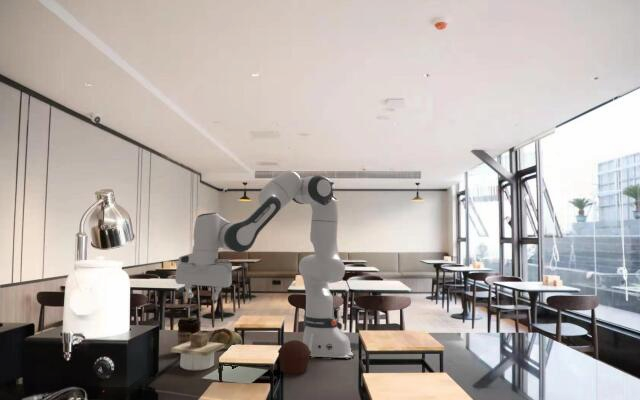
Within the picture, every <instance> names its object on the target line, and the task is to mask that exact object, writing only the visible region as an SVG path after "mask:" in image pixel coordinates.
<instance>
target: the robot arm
mask: <svg viewBox="0 0 640 400" xmlns="http://www.w3.org/2000/svg"><path fill="white" fill-rule="evenodd" d="M257 196H258V203H259V206H258V207H257V208H256V209H255V211H253V212H252V214H250V215H249V216H248V217H247V218H246V219H245V220H243V221H240V222H236V223H235V222H234V223H233V222H230V221H229V220H227V219H225V218H224V217H223V216H221V215H220V214H219V213H217V212H207V213H200V214H199V215H198V216H197V217H196V219H195V221H194V229H193V242H194V244H193V247H192V251H191V253H188V254H185V255H182V256H179V257H178V261H177V262H178V264H177V267H176V270H175V279H174V280H175V281H174V282H176V284H177V285H184V289H185V292H186V295H187V296H186V298H188V299H193V298H194V294H195V293H194V292H192V290H191V288H192V286H199V287H200V286H203V287H204V286H205V287H214V290H215V292H214V293H213V294H211V300H212V301H217V300H218V299H219V294H220V292H221V291H222V290H223V289H222V288H229V287H230V286H232V284H233V274H232V271H233V264H232V262H231V261H229V259H219V250H220V249H223V250H228V251H233V252H237V253H245V252H247V251H248V250H250V249H251V248H252V247H253V245H254V243H255V241H256V239H257V237H258V235H259V234H260V232H262V230H263V229H264V228H265V227H266V226H267V224H268V223H270V221H271V220H272V219H273V218H274V217H275V216H276V215H277V214H278V212H280V211H281V210H282V209H283V208H285V207H286V206H288V204H289V203H290V202H291V201H293V202H295V203H296V204H298V205H299V204H300V205H305V204H306V205H308V204H309V205H310V206H311V212H312V214H311V223H310V236H309V239H310V240H309V241H310V242H311V243H312V246H313V250H314V254H309V255H306V256H304V257H302V258H301V259H300V261H299V263H298V271H299V273H300V275H301V277H302V281H303V284H304V291H305V315H304V318H303V329H304V330H303V338H302V342H303V343H304V344H306V345H307V346H308V348H309V350H310V351H311V354H310V356H324V357H350V356H348V355H353V353H352V352H351V349H352V347H351V342H350V339H349V336H348V335H346V334H345V333H344V332H343V331H342V330H341V329H340V328H339V327H338V318H335V317H334V316H333V313H334V312H333V311H334V309H333V308H334V307H333V306H334V297H333V294H332V293H331V291H330V289H329V284H335V283H338V282H340V281H341V280H342V279H343V278H344V277H345V275H346V274H345V273H346V266H345V264H344V262H343V260H342V259H341V257H340V253H339V248H338V241H337V237H338V221H339V217H338V216H339V214H338V212H339V211H338V202H337V200H336V199H335V198H334V192H333V185H332V181H331V180H330V179H329V178H328V177H327V176H324V175H318V174H317V175H310V176H306V177H303V178H301V177H300V175H299V174H298V173H297V172H296V171H293V170H286V171H283V172H282V173H280V174H278V175H277V176H275V177H274V178H273V179H271V180H270V181H269V182H268V183H267V184H266V185H265V186H264V187H263V188H261V190H260V192H259V193H258V195H257Z"/></svg>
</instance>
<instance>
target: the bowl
mask: <svg viewBox="0 0 640 400" xmlns="http://www.w3.org/2000/svg"><path fill="white" fill-rule="evenodd" d="M215 353H216V352H214V353H212V354H210V355H208V356H201V355H192V354H183V353H181V354H180V361H179V367H180V368H181V369H184V370H185V371H186V370H187V371H204V370H207V369H208V370H209V369H210V368H212V367H213V366H215V365H214V364H215Z"/></svg>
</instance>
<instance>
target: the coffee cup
mask: <svg viewBox="0 0 640 400" xmlns="http://www.w3.org/2000/svg"><path fill="white" fill-rule="evenodd" d="M200 327H201V321H200V318H199V317H191V316H190V317H180V318H179V320H178V322H177V328H178V330H177V346H178V345H181V344H183V343H186V342H188V341H191V334H194V333H197V332H199V329H200ZM199 333H200V332H199ZM178 354H180V355H181V353H178Z"/></svg>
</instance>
